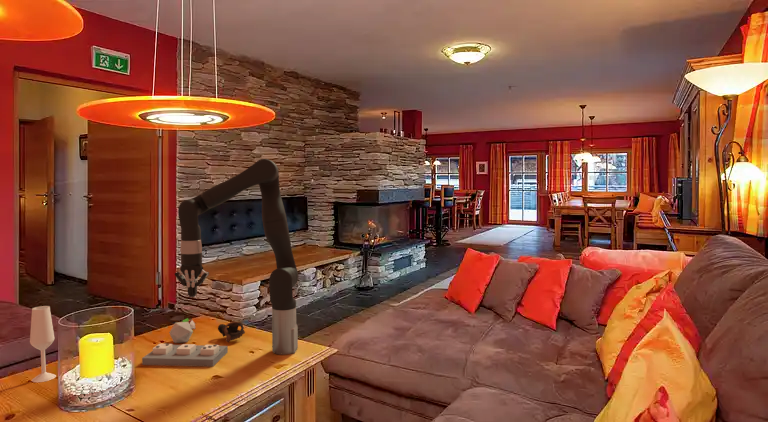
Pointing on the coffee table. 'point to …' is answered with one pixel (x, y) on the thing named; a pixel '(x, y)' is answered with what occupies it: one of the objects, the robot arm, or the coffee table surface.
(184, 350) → the one pip tile
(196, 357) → the button board
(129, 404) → the coffee table surface
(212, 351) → the three pip tile
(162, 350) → the two pip tile
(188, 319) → the geometric puzzle
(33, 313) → the champagne flute
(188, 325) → the die
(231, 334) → the pottery mug
